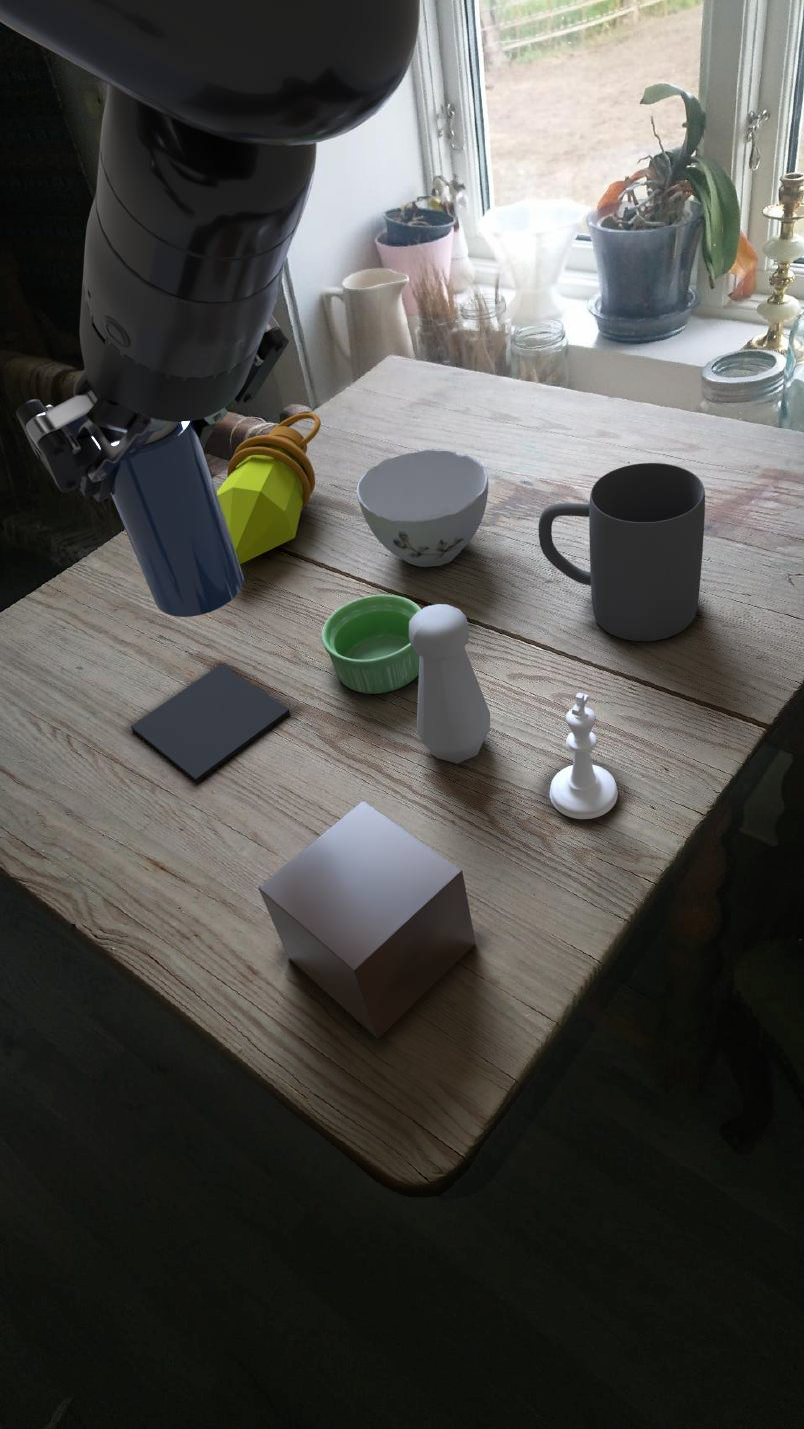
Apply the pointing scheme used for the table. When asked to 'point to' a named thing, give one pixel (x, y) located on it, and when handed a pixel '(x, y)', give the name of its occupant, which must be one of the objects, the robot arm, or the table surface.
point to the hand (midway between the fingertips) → (141, 460)
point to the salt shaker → (447, 685)
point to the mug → (639, 549)
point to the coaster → (209, 721)
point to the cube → (371, 915)
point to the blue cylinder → (177, 523)
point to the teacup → (425, 504)
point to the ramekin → (372, 643)
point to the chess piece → (582, 771)
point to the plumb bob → (268, 488)
